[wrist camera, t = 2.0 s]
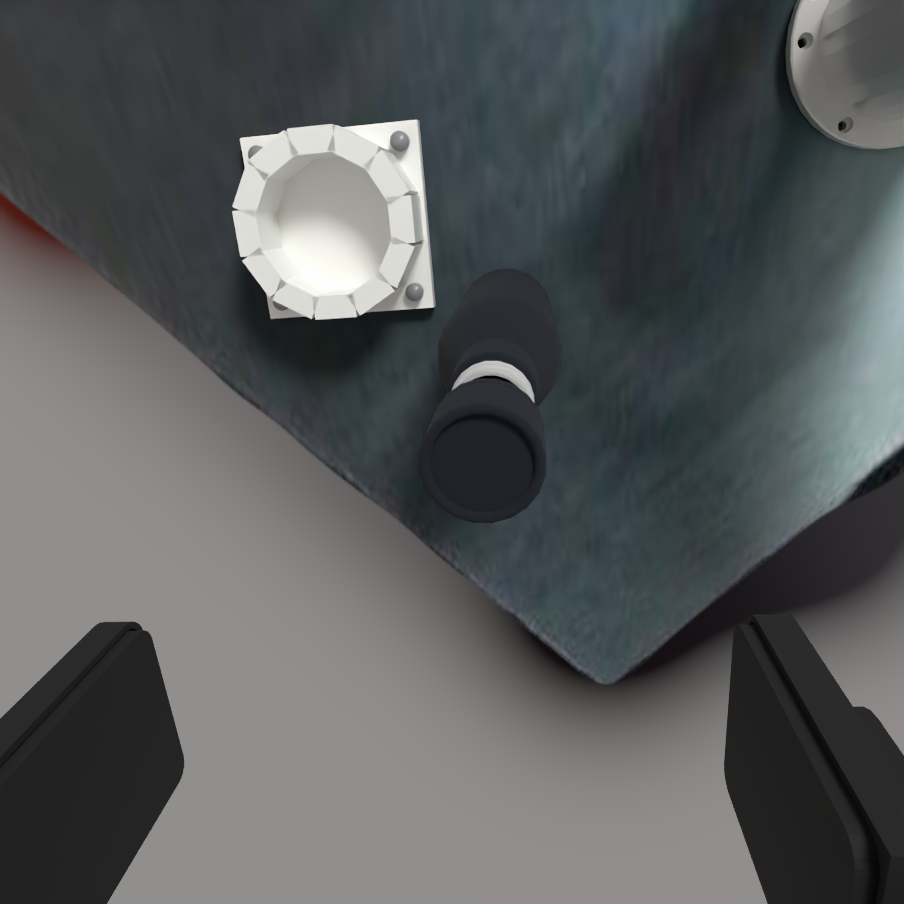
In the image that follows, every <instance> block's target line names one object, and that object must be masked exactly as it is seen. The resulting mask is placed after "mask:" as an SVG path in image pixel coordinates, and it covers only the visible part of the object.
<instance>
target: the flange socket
mask: <svg viewBox="0 0 904 904" xmlns="http://www.w3.org/2000/svg"><path fill="white" fill-rule="evenodd" d="M240 143H241V149H242V154H243V160H244V166H245V169H244V172H243V175H242V179H241V182H240V185H239V188H238V191H237V194H236V197H235V200H234V203H233V206H232V207H234V208H236V209H238V210H240V211H232V213H233V219H234V224H235V230H236V235H237V241H238V246H239V252H240V257H246V256H248V257H247V258H245V259H244V260H243V263H244V264H245V265H246V267H247V268H248V270H249V271H250V272H251V274H252V275H253V276H254V278H255V279H256V280H257V282H258V283H259V284H260V286H261V287H262V288H263V290H264V291H265V292H266V295H267V301H268V307H269V312H270V318H271V319H277V318H291V317H305V316H306V317H308V318H310V319H313V318H314V317H315V320H322V319H336V318H351V317H358V316H359V315H360V316H361V315H362V314H364V313H365V312H377V311H391V310H406V309H420V308H434V307H435V306H436V305H435V294H434V282H433V271H432V260H431V249H430V237H429V226H428V215H427V203H426V192H425V181H424V169H423V158H422V147H421V136H420V124H419V121H418V120H408V121H399V122H389V123H380V124H370V125H360V126H351V127H340V126H338V125H336V126H335V125H333V124H327V125H318V126H308V127H299V128H289V129H287V132H286V131H282V132H281V133H279V134H274V135H264V136H255V137H245V138H240Z"/></svg>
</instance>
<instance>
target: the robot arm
mask: <svg viewBox="0 0 904 904" xmlns="http://www.w3.org/2000/svg"><path fill="white" fill-rule="evenodd" d="M798 40H802V41H803V43H804V45H803V47H802V48H800V47H799V46H798ZM785 55H786V72H787V77H788V81H789V85H790V88H791V92H792V95H793V97H794V99H795V101H796V103H797V105H798V107H799V109H800V111H801V112H802V113H803V115H804V116H805V117H806V118H807V120H808V121H809V122H810V123H811V125H812V126H813V127H815V128H816V129H817V130H819V131H820V132H821V133H822V134H824V135H825V136H826V137H828V138H830V139H832V140H834V141H836V142H839V143H841V144H843V145H846V146H851V147H855V148H860V149H888V148H895V147H901V146H904V0H797V2H796V4H795V6H794V10H793V13H792V17H791V20H790V23H789V27H788V33H787V41H786V50H785ZM839 122H841V123H842V124H843V128H842V130H841V131H839V130H838V124H839ZM183 768H184V756H183V752H182V749H181V744H180V741H179V737H178V733H177V730H176V726H175V722H174V718H173V715H172V711H171V707H170V704H169V700H168V696H167V692H166V689H165V685H164V681H163V678H162V674H161V670H160V666H159V663H158V659H157V656H156V651H155V648H154V644H153V640H152V637H151V635H150V634H149V633H148V632H147V631H143V630H142V627H141V626H140V625H139V624H138V623H136V622H103V623H99V624H97V625H96V626H94V627H93V628H92V629H91V630H90V631H89V633H87V634H86V635H85V636H84V637H83V638H82V639H81V640H80V641H79V642H78V643H77V644H76V645H75V646H74V647H73V648H72V649H71V650H70V651H69V652H68V653H67V654H66V655H65V656H64V657H63V658H62V659H61V660H60V661H59V662H58V663H57V664H56V665H55V666H54V667H53V668H52V669H51V670H50V671H48V672H47V673H46V675H44V676H43V677H42V678H41V680H40V681H38V682H37V683H36V684H35V685H34V686H33V687H32V688H31V689H30V690H29V691H28V692H27V693H26V694H25V695H24V696H23V697H22V698H21V699H20V700H19V701H18V702H17V703H16V704H15V705H14V706H13V707H12V708H11V709H10V710H9V711H8V712H7V713H6V714H5V715H4V716H3V717H2V718H1V719H0V904H107V902H108V901H109V899H110V897H111V896H112V894H113V892H114V890H115V889H116V887H117V886H118V884H119V882H120V881H121V879H122V877H123V876H124V874H125V872H126V871H127V869H128V867H129V866H130V864H131V862H132V861H133V859H134V857H135V855H136V854H137V852H138V850H139V849H140V847H141V845H142V844H143V842H144V840H145V839H146V837H147V835H148V834H149V832H150V830H151V829H152V827H153V825H154V823H155V822H156V820H157V819H158V817H159V815H160V814H161V812H162V810H163V808H164V807H165V805H166V803H167V802H168V800H169V798H170V797H171V795H172V793H173V792H174V790H175V788H176V787H177V785H178V783H179V781H180V779H181V776H182V774H183ZM724 771H725V780H726V785H727V789H728V792H729V795H730V798H731V801H732V804H733V807H734V809H735V812H736V815H737V818H738V821H739V823H740V826H741V829H742V832H743V835H744V838H745V841H746V843H747V846H748V849H749V852H750V855H751V858H752V860H753V863H754V866H755V869H756V872H757V874H758V877H759V880H760V883H761V886H762V889H763V891H764V894H765V897H766V900H767V903H768V904H904V755H903V754H902V753H901V751H900V750H899V748H898V747H897V745H896V744H895V742H894V741H893V740H892V738H891V737H890V735H889V734H888V732H887V731H886V729H885V728H884V727H883V725H882V724H881V722H880V721H879V719H878V718H877V717H876V716H875V715H874V714H873V713H872V712H871V711H870V710H869V709H867V708H865V707H853V706H852V705H851V703H850V702H849V700H848V699H847V697H846V696H845V694H844V692H843V691H842V690H841V688H840V687H839V685H838V684H837V682H836V681H835V679H834V677H833V676H832V675H831V673H830V672H829V670H828V668H827V667H826V665H825V664H824V662H823V661H822V659H821V658H820V656H819V655H818V653H817V652H816V650H815V649H814V647H813V646H812V644H811V643H810V641H809V640H808V638H807V637H806V635H805V634H804V632H803V631H802V629H801V628H800V626H799V625H798V623H797V622H796V620H795V619H794V618H793V617H792V615H789V614H764V615H763V614H762V615H750V616H748V619H747V622H746V625H736V626H735V629H734V636H733V650H732V663H731V677H730V691H729V705H728V719H727V733H726V746H725V761H724Z"/></svg>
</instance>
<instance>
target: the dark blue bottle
mask: <svg viewBox="0 0 904 904" xmlns="http://www.w3.org/2000/svg"><path fill="white" fill-rule="evenodd" d="M561 354H562V346H561V342H560V339H559V335H558V331H557V328H556V324H555V321H554V317H553V313H552V310H551V306H550V303H549V299H548V296H547V293H546V292H545V291H544V289H543V288H542V286H541V285H540V283H539V282H538V281H536V280H535V279H534V278H532V277H531V276H530V275H528V274H527V273H524V272H521V271H517V270H514V269H499V270H496V271H493V272H490V273H487V274H485V275H484V276H482V277H481V278H480V279H478V280H477V281H476V282H474V283H473V285H472V286H471V288H470V289H469V291H468V292H467V294H466V295H465V297H464V298H463V300H462V301H461V303H460V304H459V306H458V307H457V309H456V310H455V312H454V313H453V315H452V316H451V318H450V320H449V321H448V323H447V324H446V326H445V327H444V329H443V332H442V335H441V339H440V342H439V346H438V365H439V372H440V375H441V377H442V380H443V383H444V386H445V388H446V391H447V394H446V395H445V397H444V398H443V400H442V401H441V402H440V404H439V405H438V407H437V408H436V410H435V413H434V415H433V417H432V419H431V422H430V424H429V426H428V429H427V431H426V433H425V436H424V439H423V442H422V445H421V449H420V452H419V472H420V476H421V479H422V481H423V484H424V486H425V489H426V491H427V493H428V494H429V495H430V496H431V498H432V499H433V500H434V501H435V502H436V504H437V505H438V506H439V507H441V508H442V509H444V510H445V511H447V512H448V513H450V514H451V515H453V516H454V517H457V518H460V519H463V520H466V521H470V522H473V523H494V522H497V521H501V520H505V519H509V518H511V517H513V516H515V515H516V514H518V513H519V512H521V511H523V510H524V509H526V508H527V507H528V506H529V505H530V503H531V502H532V501H533V500H534V499H535V497H536V496H537V495H538V494H539V492H540V489H541V487H542V484H543V481H544V479H545V476H546V446H545V435H544V425H543V422H542V419H541V416H540V412H539V409H538V408H537V407H538V406H539V405H540V404H541V402H542V401H543V400H544V399H545V397H546V396H547V395H548V393H549V392H550V391H551V390H552V388H553V386H554V384H555V382H556V379H557V376H558V373H559V371H560V368H561Z"/></svg>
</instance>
